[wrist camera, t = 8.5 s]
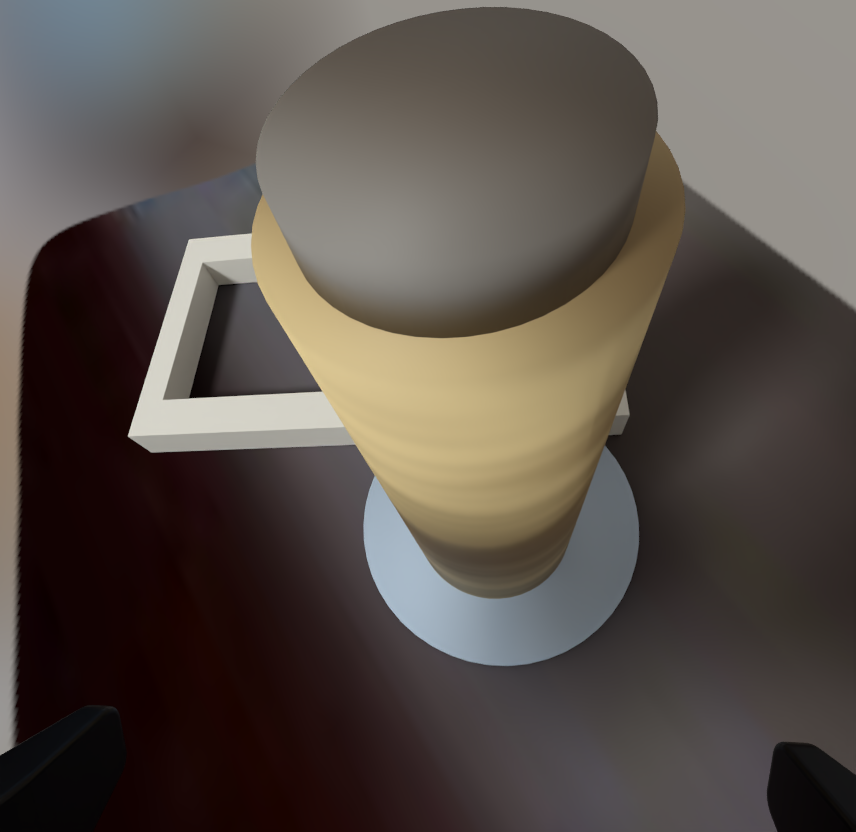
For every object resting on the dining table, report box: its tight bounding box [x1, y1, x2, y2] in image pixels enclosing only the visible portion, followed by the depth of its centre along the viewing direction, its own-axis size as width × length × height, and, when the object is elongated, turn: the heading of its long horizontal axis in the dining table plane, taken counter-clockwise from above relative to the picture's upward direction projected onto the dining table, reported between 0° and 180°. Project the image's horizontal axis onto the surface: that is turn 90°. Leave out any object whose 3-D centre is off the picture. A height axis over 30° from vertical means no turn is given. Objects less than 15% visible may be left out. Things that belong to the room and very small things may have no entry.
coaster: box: [364, 446, 639, 666], centre depth 18 cm, size 9×9×1 cm
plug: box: [251, 7, 685, 599], centre depth 12 cm, size 5×5×14 cm
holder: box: [128, 234, 630, 452], centre depth 22 cm, size 10×18×2 cm, turn 88°
